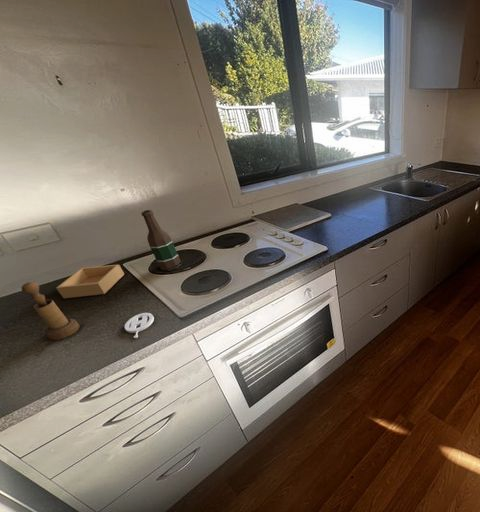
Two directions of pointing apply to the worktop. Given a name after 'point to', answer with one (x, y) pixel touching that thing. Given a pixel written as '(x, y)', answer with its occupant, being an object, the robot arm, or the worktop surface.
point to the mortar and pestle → (51, 314)
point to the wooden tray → (90, 281)
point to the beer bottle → (160, 243)
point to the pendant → (139, 323)
